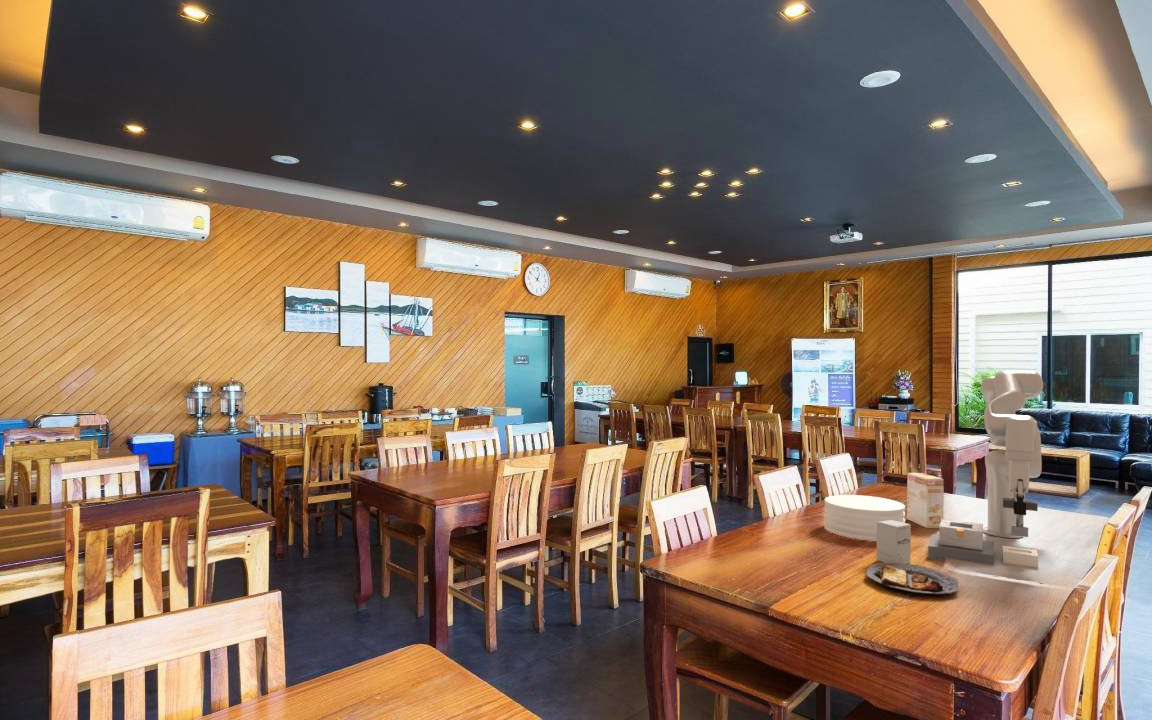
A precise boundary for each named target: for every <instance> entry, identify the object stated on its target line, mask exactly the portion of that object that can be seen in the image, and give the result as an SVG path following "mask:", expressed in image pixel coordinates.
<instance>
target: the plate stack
mask: <svg viewBox="0 0 1152 720" xmlns="http://www.w3.org/2000/svg"><path fill="white" fill-rule="evenodd" d="M905 511H906V505H905V504H904V503H902V502H900V501H897V500H893V499H889V498H885V497H878V496H871V495H861V494H836V495H835V494H834V495H829V496H827V497H825V498H824V530H825V529H827V530H828V531H830V532H833V533H835V534H839V535H842V536H846V537H850V538H856V539H861V540H870V541H869V542H871V541H877V522H881V521H887V520H894V521H898V522H903V523H906V519H905V518H906V512H905ZM861 540H860V541H861Z"/></svg>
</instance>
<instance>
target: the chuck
mask: <svg viewBox="0 0 1152 720" xmlns="http://www.w3.org/2000/svg"><path fill="white" fill-rule="evenodd" d="M983 528H984V524H983V523H975V522H968V521H960V520H953V519H944V518H943V519H942V520H941V523H940V526H939V528H938V533H939V534H938V535H939V544H940V545H947V546H954V547H961V548H968V549H975V550H983V541H984V532H983Z"/></svg>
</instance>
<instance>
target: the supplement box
mask: <svg viewBox="0 0 1152 720" xmlns="http://www.w3.org/2000/svg"><path fill="white" fill-rule="evenodd" d="M911 528H912V527H911V524H910V523H906V522H905V523H903V522H898V521H894V520H887V521H881V522H877V542H876V560H877V562H878V561H879V562H880V563H904V564H911V552H912V551H911V549H912V548H911V547H912V545H911V544H912V543H911V542H912V541H911V540H912V539H911V536H912V535H911V532H912V529H911Z"/></svg>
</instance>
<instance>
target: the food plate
mask: <svg viewBox="0 0 1152 720" xmlns="http://www.w3.org/2000/svg"><path fill="white" fill-rule="evenodd" d="M865 575H866V577H867V578H868V579H870V580H871V581H873V582H875V583H878V584H880V585H881V586H885V587H886V588H887V587H888V588H892V589H897V590H901V591H906V592H910V593H912V594H921V595H922V594H923V595H939V596H941V595H946V596H948V595H952V593H953V594H955V593H957V592H958V589H959V580H958V579H957V578H956V577H954V576H952V575H949V574H947V573H945V572H942V571H940V570H937V569H933V568H932V567H931V568H930V567H927V566H921V565H919V564H911V563H907V564H904V563H884V562H877V563H874V564H871V565H868V568H867V570H866V573H865Z"/></svg>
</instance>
